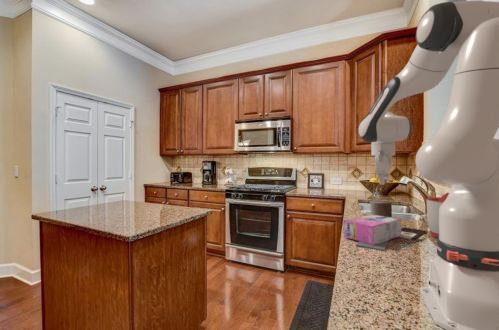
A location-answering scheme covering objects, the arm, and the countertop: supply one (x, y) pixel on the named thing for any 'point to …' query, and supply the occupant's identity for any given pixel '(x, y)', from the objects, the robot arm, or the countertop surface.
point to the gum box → (372, 228)
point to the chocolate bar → (411, 233)
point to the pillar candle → (381, 208)
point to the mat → (378, 246)
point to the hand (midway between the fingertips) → (383, 184)
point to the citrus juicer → (434, 213)
